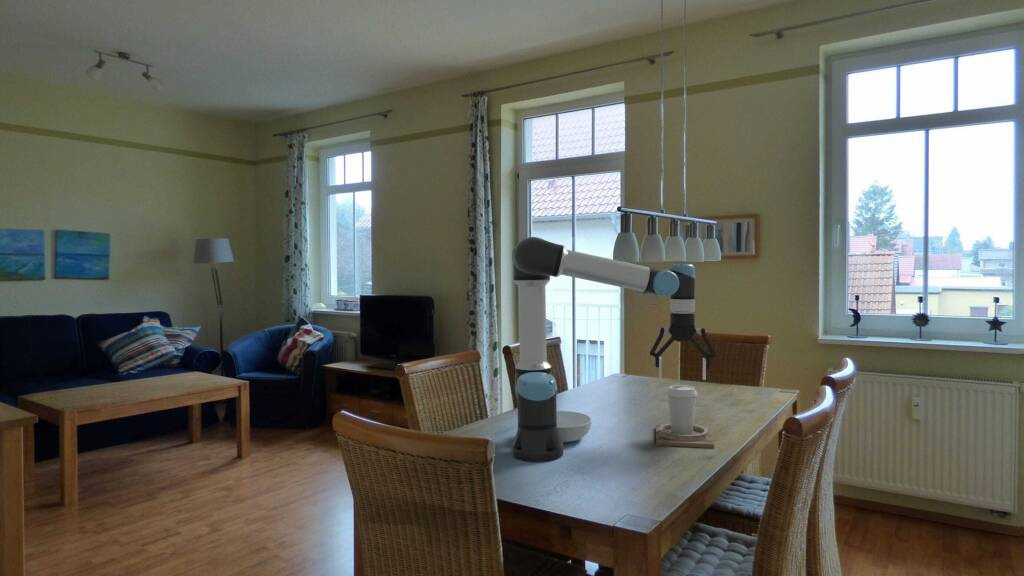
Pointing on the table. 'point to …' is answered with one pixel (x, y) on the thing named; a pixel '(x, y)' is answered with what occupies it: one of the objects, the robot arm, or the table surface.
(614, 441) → the table surface
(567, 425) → the serving bowl
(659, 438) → the carrier board
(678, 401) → the coffee cup
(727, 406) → the table surface
